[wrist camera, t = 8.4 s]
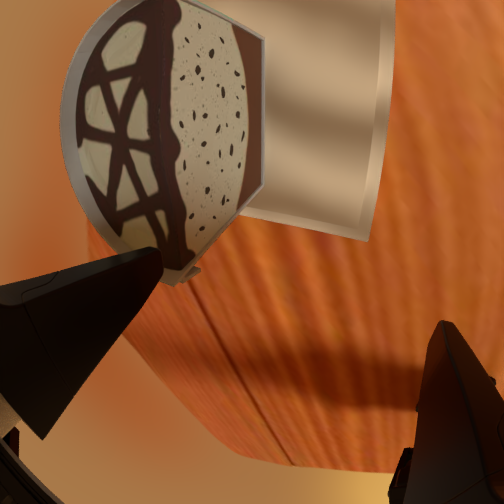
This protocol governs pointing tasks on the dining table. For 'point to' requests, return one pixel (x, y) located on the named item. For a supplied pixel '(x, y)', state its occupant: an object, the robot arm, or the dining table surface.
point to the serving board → (322, 108)
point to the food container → (165, 127)
